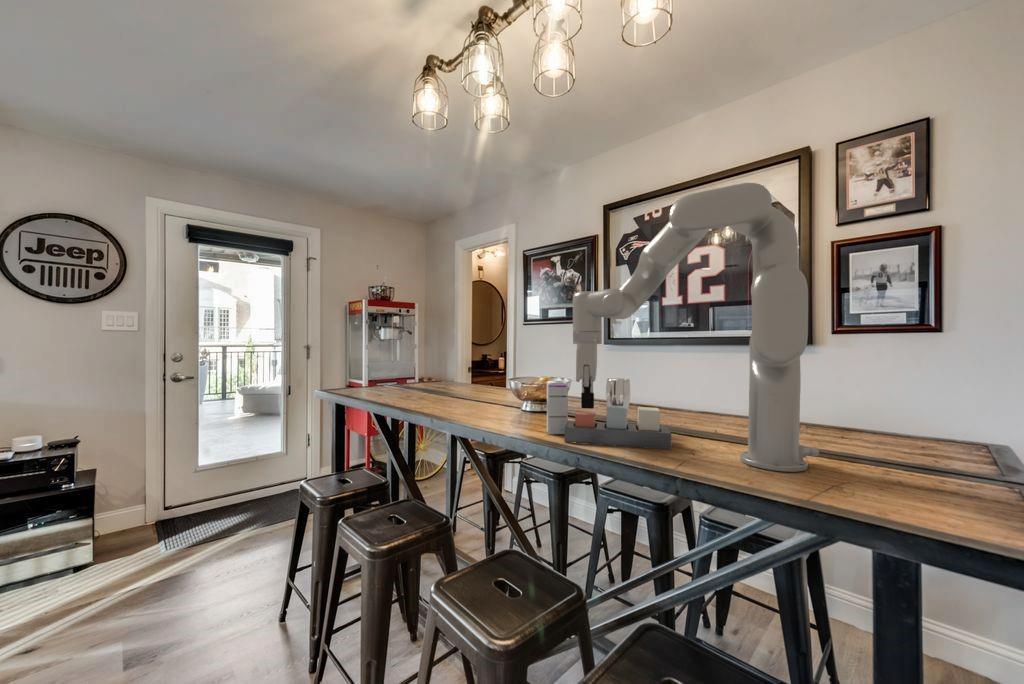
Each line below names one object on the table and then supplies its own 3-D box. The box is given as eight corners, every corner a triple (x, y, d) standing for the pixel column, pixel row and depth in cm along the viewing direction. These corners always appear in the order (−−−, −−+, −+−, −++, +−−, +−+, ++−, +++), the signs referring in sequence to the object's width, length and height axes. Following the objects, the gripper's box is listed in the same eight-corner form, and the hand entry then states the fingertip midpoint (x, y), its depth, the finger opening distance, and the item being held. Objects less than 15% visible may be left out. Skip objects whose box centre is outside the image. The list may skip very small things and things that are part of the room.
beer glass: (632, 433, 122) (633, 380, 122) (608, 432, 122) (608, 380, 122) (626, 427, 129) (627, 378, 129) (603, 427, 129) (604, 378, 129)
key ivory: (637, 425, 113) (637, 406, 113) (657, 427, 112) (657, 407, 112) (638, 429, 108) (639, 410, 108) (659, 431, 107) (659, 411, 107)
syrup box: (568, 434, 119) (569, 382, 119) (547, 434, 119) (547, 382, 119) (566, 430, 125) (566, 380, 125) (545, 430, 125) (546, 380, 125)
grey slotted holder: (567, 434, 119) (568, 420, 119) (666, 441, 113) (666, 426, 113) (564, 442, 110) (564, 427, 110) (671, 449, 104) (671, 433, 104)
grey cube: (606, 424, 115) (606, 405, 115) (625, 425, 113) (626, 406, 113) (606, 427, 110) (606, 408, 110) (626, 429, 109) (626, 409, 108)
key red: (576, 429, 116) (576, 410, 116) (595, 430, 115) (595, 411, 115) (575, 433, 112) (575, 414, 111) (594, 434, 110) (594, 415, 110)
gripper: (575, 338, 121) (575, 403, 121) (570, 338, 107) (570, 412, 107) (602, 338, 119) (602, 404, 119) (601, 338, 105) (601, 413, 105)
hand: (587, 407), depth 113 cm, fingers closed
